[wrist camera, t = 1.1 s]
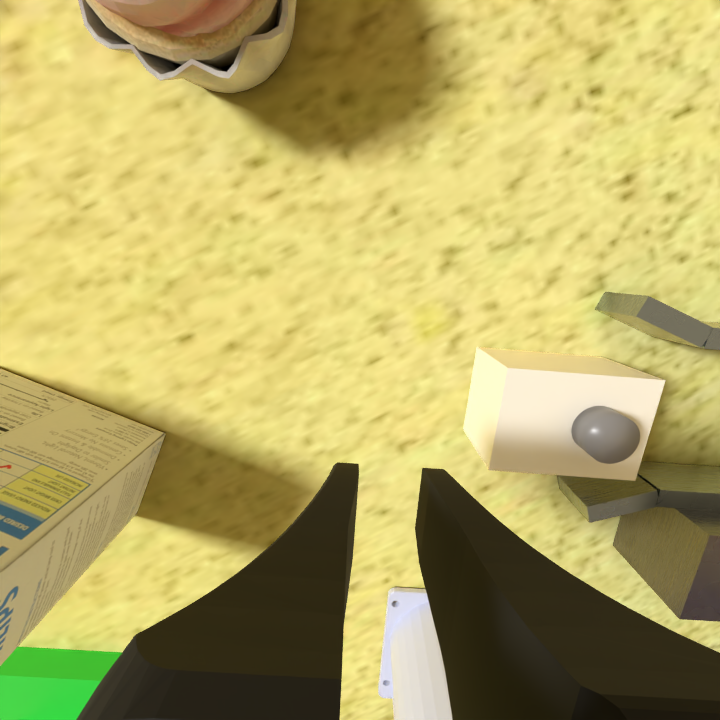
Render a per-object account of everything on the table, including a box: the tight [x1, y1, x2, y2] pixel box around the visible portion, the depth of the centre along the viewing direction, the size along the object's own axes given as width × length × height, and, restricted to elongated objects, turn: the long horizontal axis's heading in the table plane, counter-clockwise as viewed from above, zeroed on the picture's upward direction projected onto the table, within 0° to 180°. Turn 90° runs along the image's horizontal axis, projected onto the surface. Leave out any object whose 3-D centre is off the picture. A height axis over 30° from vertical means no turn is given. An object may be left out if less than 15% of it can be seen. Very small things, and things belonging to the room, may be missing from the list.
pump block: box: [463, 347, 666, 481], centre depth 18 cm, size 5×7×6 cm
